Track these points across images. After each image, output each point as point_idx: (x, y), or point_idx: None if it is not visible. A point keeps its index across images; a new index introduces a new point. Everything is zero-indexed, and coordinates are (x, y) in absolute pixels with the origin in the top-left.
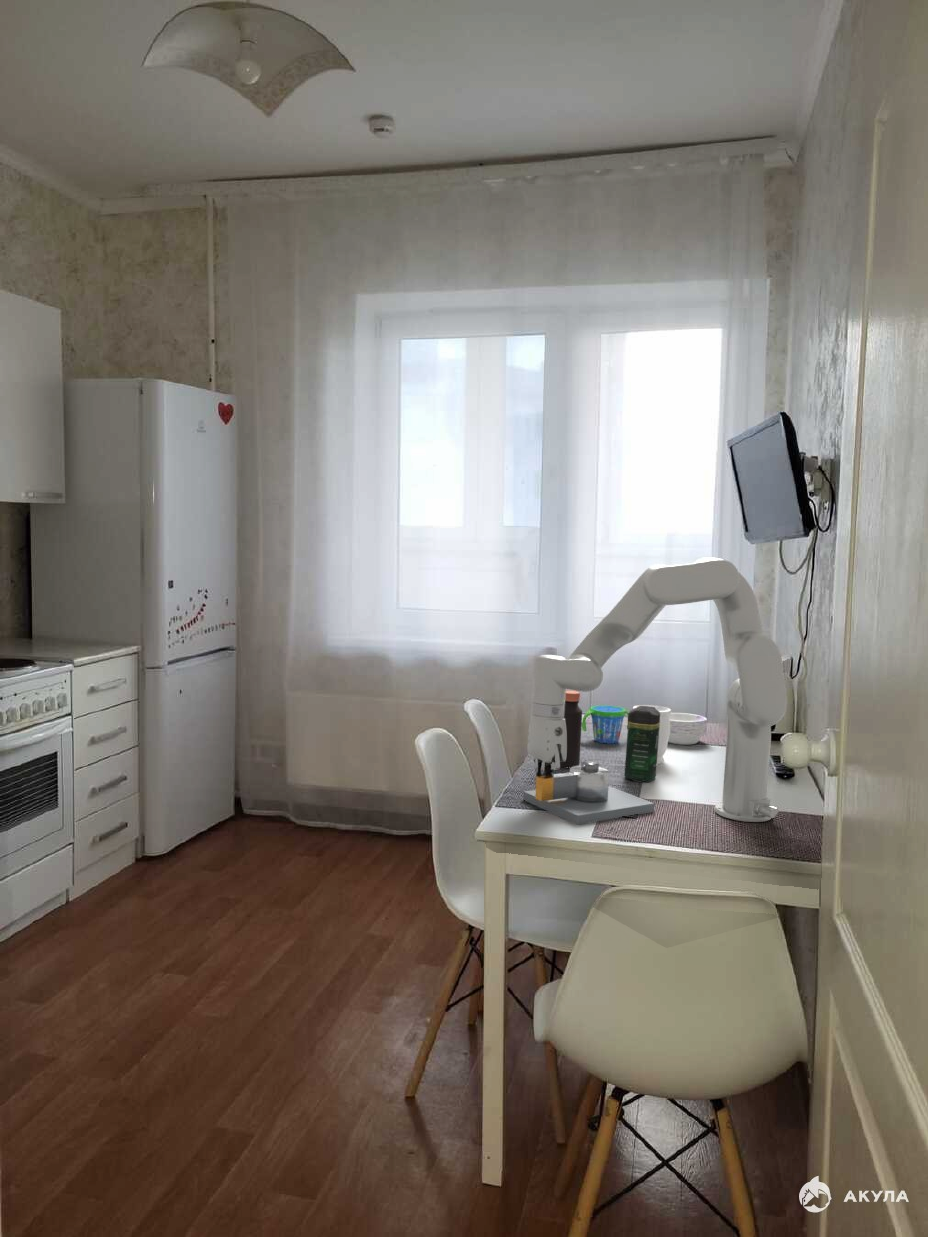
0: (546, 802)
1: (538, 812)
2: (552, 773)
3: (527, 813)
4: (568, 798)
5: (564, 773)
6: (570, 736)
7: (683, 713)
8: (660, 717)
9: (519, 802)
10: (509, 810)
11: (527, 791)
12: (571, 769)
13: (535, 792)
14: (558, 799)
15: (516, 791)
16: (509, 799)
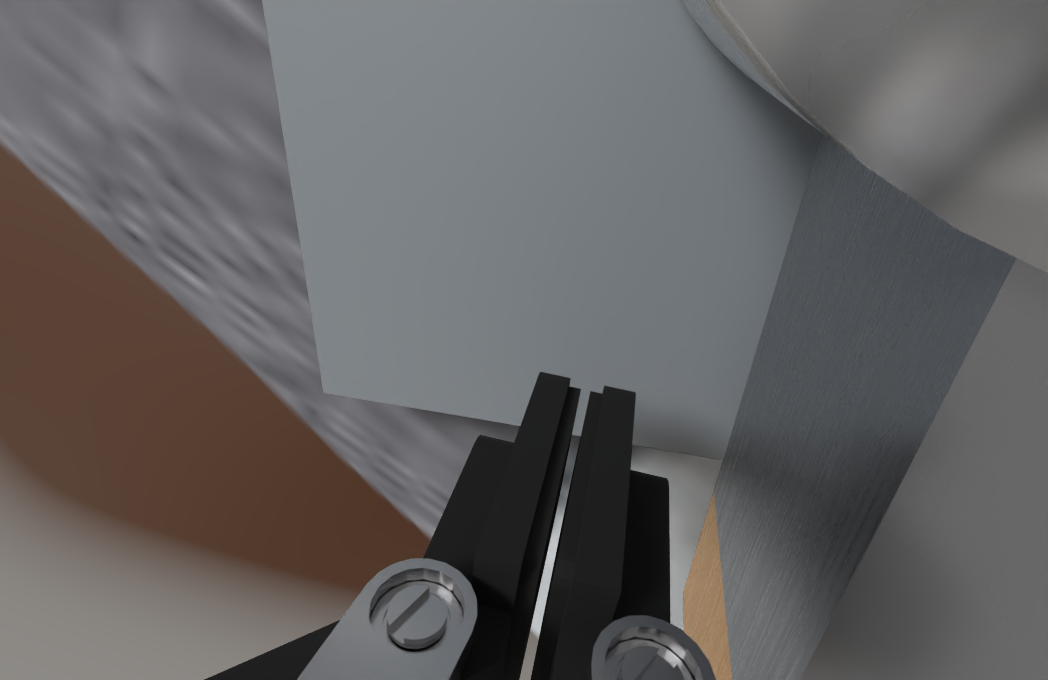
0: (721, 455)
1: (713, 484)
2: (688, 648)
3: (678, 554)
4: (812, 150)
5: (932, 523)
6: None
7: None
8: None
9: (410, 414)
10: (549, 585)
11: (333, 364)
12: (902, 87)
13: (389, 321)
14: (749, 301)
15: (108, 217)
16: (314, 419)
